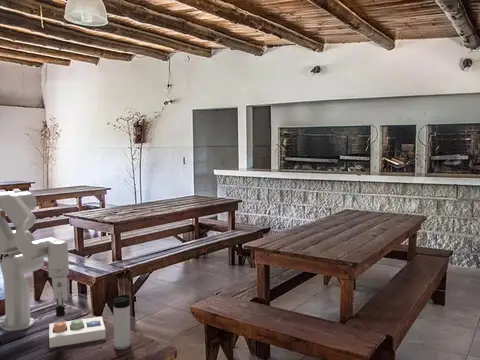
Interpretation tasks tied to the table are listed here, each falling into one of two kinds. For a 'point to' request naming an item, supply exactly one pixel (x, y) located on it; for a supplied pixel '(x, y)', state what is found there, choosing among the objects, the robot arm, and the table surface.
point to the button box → (77, 333)
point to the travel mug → (121, 322)
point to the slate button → (93, 323)
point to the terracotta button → (59, 327)
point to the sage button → (76, 324)
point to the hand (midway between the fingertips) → (60, 315)
